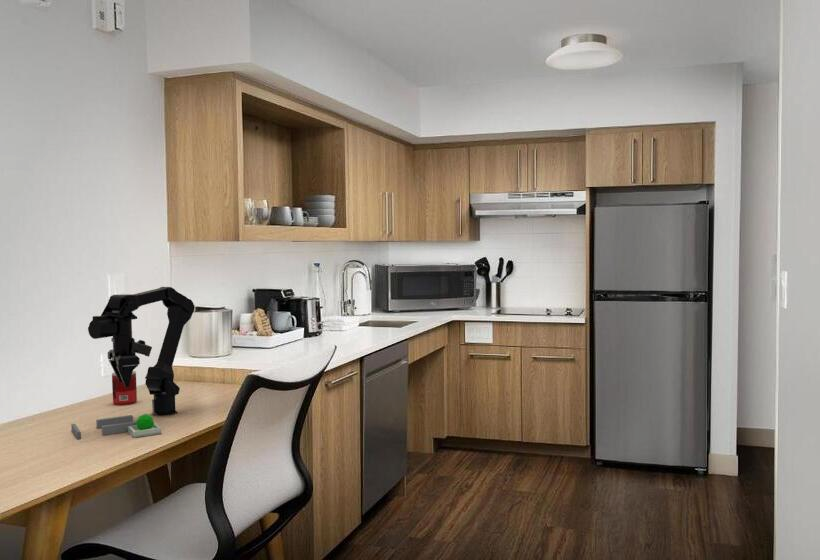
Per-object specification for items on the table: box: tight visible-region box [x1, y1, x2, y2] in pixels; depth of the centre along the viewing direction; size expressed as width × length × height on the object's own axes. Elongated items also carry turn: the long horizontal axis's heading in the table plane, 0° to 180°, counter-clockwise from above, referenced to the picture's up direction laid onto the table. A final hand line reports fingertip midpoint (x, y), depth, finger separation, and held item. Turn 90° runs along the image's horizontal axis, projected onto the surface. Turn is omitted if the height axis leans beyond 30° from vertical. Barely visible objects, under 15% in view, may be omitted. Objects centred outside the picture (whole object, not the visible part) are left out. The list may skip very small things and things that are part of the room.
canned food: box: [111, 370, 138, 406], centre depth 266 cm, size 8×8×11 cm
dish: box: [127, 422, 163, 439], centre depth 225 cm, size 8×8×2 cm
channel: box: [70, 414, 137, 440], centre depth 228 cm, size 18×12×2 cm
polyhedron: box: [135, 413, 155, 430], centre depth 225 cm, size 5×5×5 cm
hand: (124, 384), depth 235 cm, fingers open, 9 cm apart
